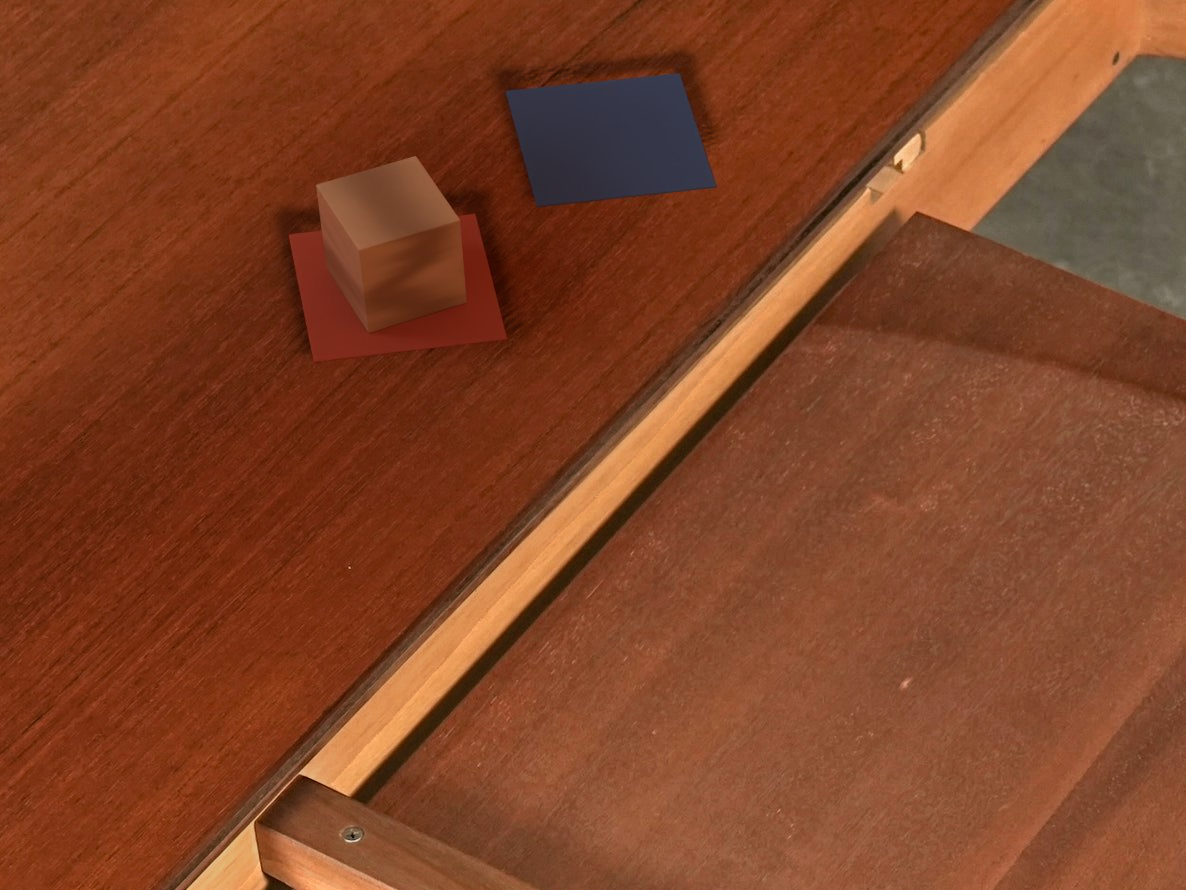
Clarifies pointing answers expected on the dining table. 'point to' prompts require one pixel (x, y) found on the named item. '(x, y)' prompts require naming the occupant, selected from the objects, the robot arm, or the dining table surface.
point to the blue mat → (609, 140)
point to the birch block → (392, 243)
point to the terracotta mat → (346, 336)
